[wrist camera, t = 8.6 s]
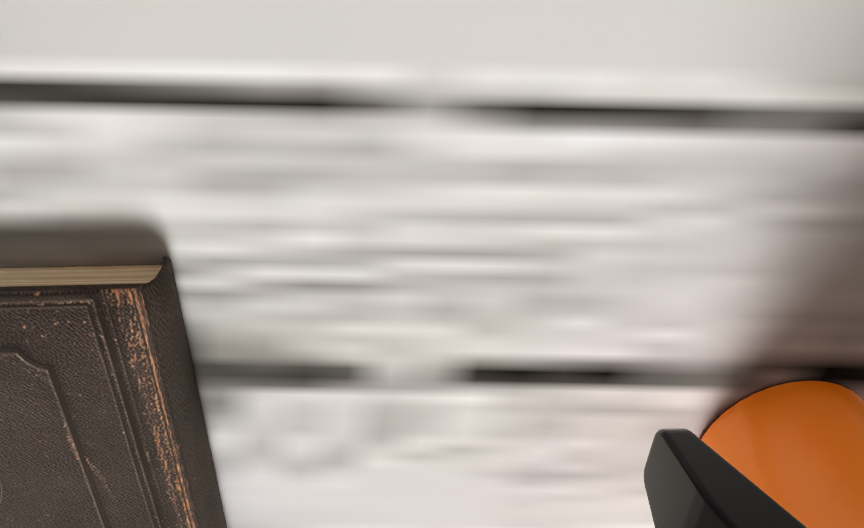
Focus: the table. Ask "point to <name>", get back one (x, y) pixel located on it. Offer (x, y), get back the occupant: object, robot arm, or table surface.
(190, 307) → the table surface
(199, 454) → the hardcover book
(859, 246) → the table surface
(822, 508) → the shaker bottle
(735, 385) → the table surface
